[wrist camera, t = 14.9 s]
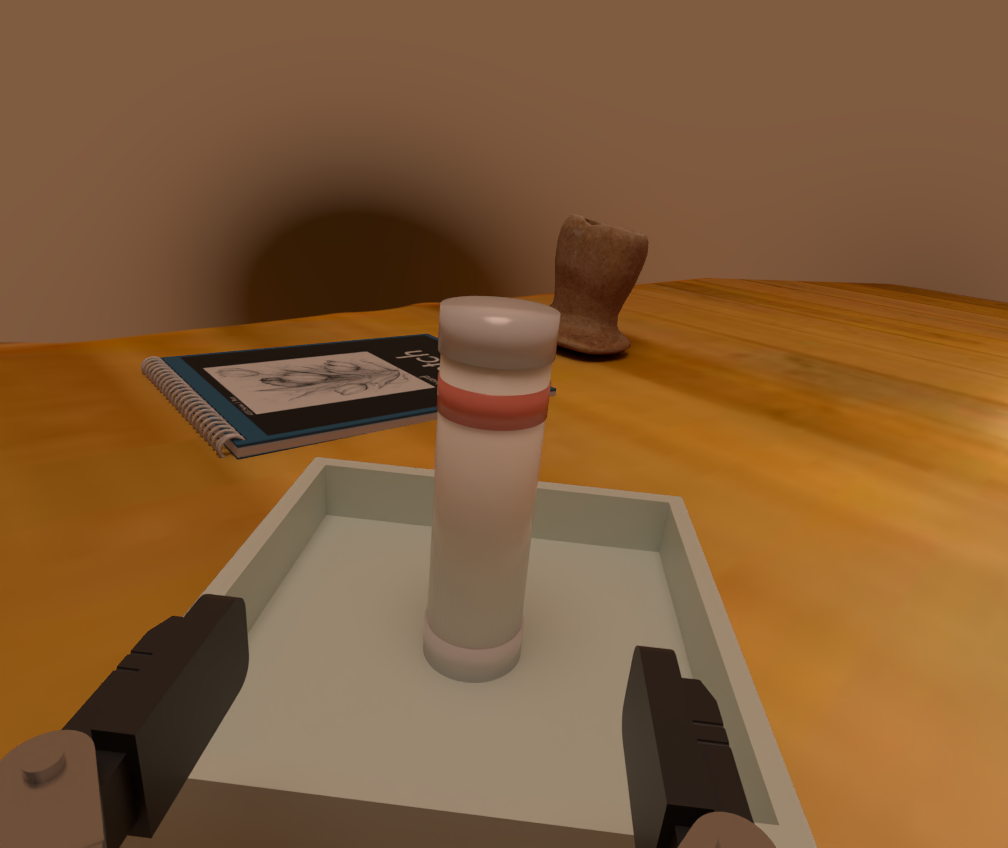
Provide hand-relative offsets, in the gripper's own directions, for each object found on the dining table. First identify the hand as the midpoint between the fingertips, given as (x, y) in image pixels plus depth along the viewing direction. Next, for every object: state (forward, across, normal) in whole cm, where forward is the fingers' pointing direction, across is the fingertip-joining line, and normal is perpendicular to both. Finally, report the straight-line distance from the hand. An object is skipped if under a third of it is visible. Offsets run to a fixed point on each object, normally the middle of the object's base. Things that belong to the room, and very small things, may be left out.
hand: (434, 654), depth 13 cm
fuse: (+11, 0, +9) cm, 14 cm away
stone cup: (+68, -6, +10) cm, 69 cm away
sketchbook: (+45, +15, +11) cm, 49 cm away
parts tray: (+11, 0, +10) cm, 15 cm away
